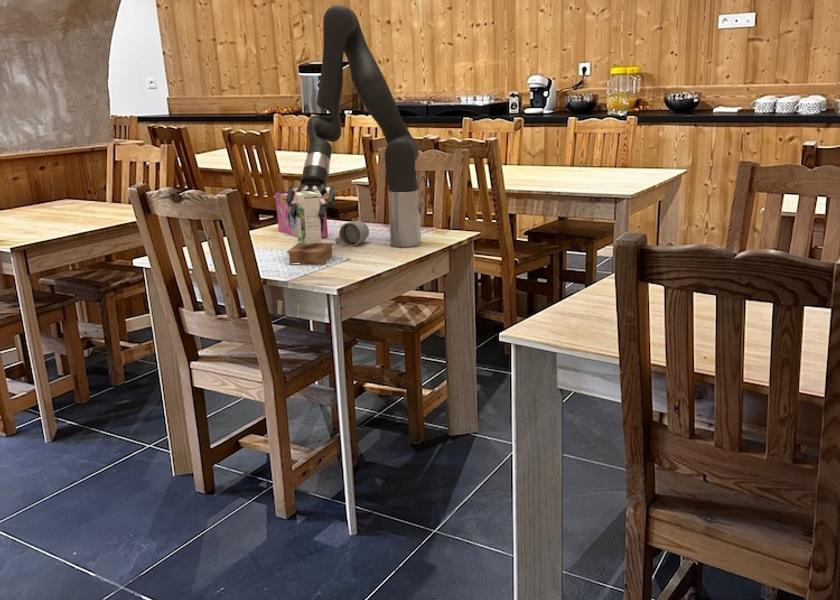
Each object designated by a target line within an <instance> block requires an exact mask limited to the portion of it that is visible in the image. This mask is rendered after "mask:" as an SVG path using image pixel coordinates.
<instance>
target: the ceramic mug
mask: <svg viewBox="0 0 840 600" xmlns="http://www.w3.org/2000/svg"><path fill="white" fill-rule="evenodd" d="M338 231H339V232H338V237H336V238H334V242H335V243H336V244H340V243H342V244H343V245H345V246H347V247H349V246H350V247H353V248H354V247H355V246H357V245H360V244H362V243H363V242H365V241H366V240H367V239H368V238H369V234H370V229H369V226H368V225H367V223H366V222H364V221H363V220H354V221H349V222H345V223H343V224H342V225H341V226H340V228H339V230H338ZM339 242H340V243H339Z"/></svg>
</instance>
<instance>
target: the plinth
mask: <svg viewBox="0 0 840 600" xmlns="http://www.w3.org/2000/svg"><path fill="white" fill-rule="evenodd" d="M333 246H334V242H333V243H332V242H320V243H313V244H305V245H303V244H302V243H301V242H298V243H296V244H295V245H293V246H292V247H291V248H289V249H288V250H287V251H286V253H287V254H289V255H288V256H289V264H290V263H300V264H299V265H316V264H323V265H325V264H324V263H325V262H326V261H327V260H328V261H329V260H330V259H331V258H333V257H332V256H333ZM328 261H327V262H328ZM327 262H326V263H327Z"/></svg>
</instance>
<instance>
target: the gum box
mask: <svg viewBox="0 0 840 600" xmlns="http://www.w3.org/2000/svg"><path fill="white" fill-rule="evenodd" d="M297 193H298V192H297ZM287 194H288V190H287V191H280V192H276V193H275V203H276V214H277V225H278V231H279V232H281V233H285V234H287V235H291V236H294V237H296V236H297V238H298V233H297V216H296V219H293V218H292V217H291V215H290V210H291V207H289V206H288V204H287V202H286V198H287ZM322 197H323V199H324V200H325V201H326V197H324V196H322ZM294 199H295V195H294ZM294 199H293V200H294ZM320 205H321V203H320V202H319V207H320ZM327 220H328V217H327V213H326V214H325V217H323V219H320V225H321V239H325V238H324V237H326V238H329V235H328V233H329V230H328V221H327Z"/></svg>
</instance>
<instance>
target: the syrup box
mask: <svg viewBox="0 0 840 600" xmlns="http://www.w3.org/2000/svg"><path fill="white" fill-rule="evenodd" d="M295 198H296V216H297V233H298V237H297V241H298V243H302V244H303V245H305V244H313V243H322V238H321V225H320V218H319V210H320V207H319V194H317V193H314V192H311V191H305V192H298V193H295Z"/></svg>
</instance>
